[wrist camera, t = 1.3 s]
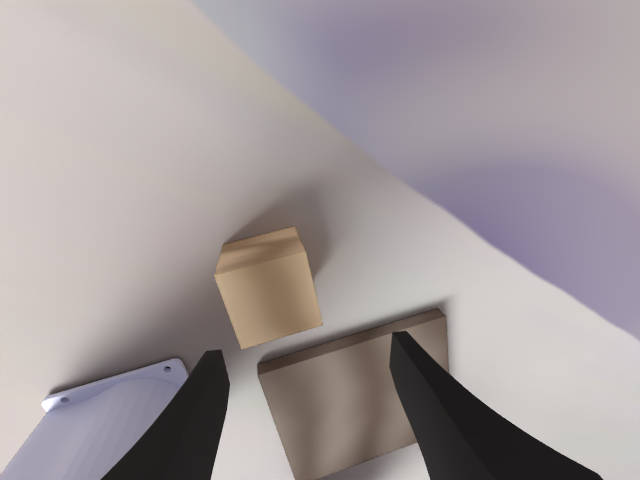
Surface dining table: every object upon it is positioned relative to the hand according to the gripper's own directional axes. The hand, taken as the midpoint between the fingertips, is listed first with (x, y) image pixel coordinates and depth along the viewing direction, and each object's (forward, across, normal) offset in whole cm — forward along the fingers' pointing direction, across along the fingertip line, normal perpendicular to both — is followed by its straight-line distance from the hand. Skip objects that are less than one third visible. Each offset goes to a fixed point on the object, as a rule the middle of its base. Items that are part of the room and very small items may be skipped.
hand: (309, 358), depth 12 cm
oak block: (+10, +2, +1) cm, 10 cm away
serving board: (+9, -5, +15) cm, 18 cm away
